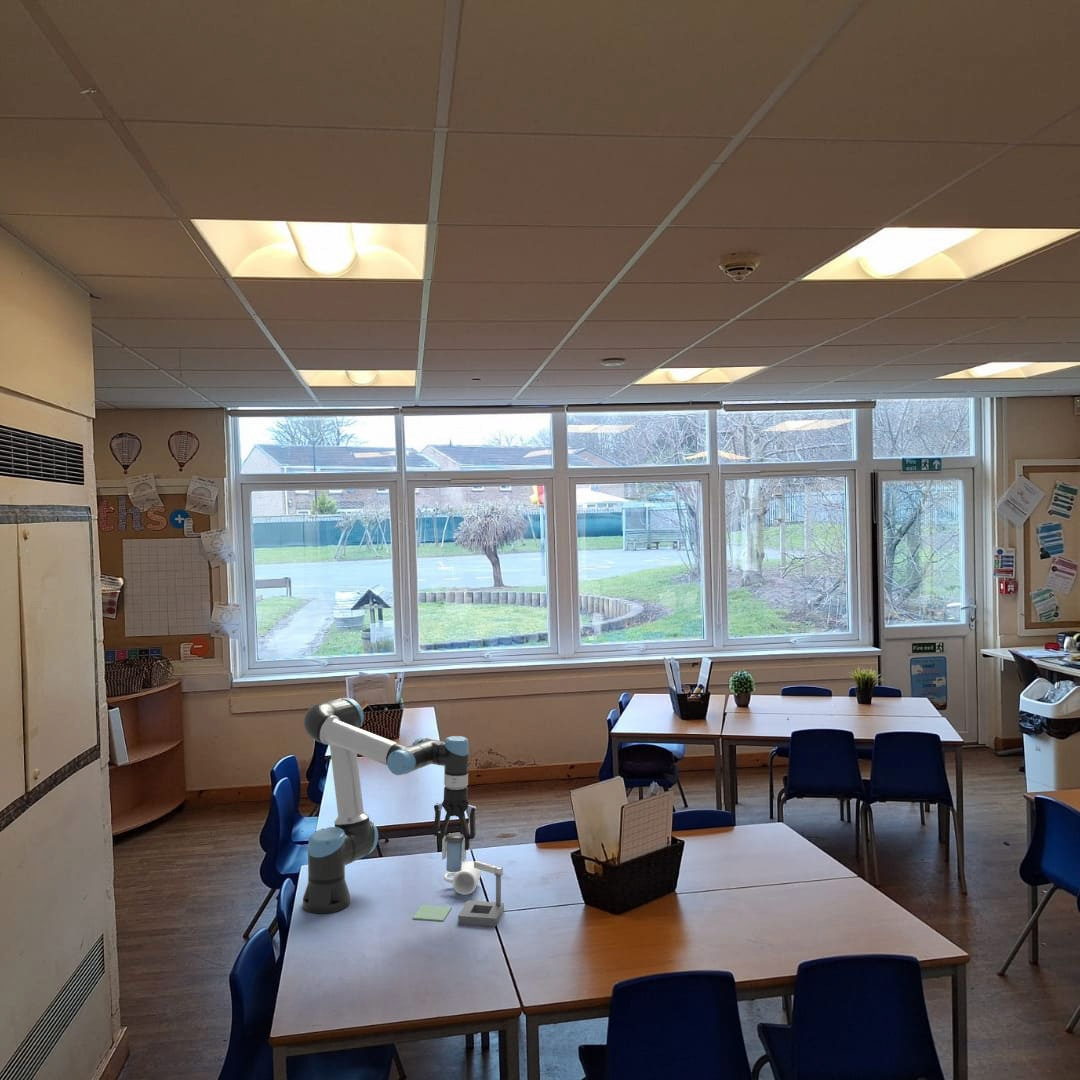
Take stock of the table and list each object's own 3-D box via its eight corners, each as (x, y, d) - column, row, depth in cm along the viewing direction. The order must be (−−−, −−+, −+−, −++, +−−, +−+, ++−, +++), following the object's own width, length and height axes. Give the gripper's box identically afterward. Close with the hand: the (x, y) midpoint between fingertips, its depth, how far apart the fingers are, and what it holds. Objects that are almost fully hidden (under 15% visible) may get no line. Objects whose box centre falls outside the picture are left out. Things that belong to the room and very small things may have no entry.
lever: (504, 873, 291) (504, 867, 291) (498, 876, 289) (499, 870, 289) (477, 865, 298) (477, 859, 298) (472, 868, 296) (472, 862, 296)
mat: (412, 918, 286) (412, 917, 286) (421, 906, 295) (421, 904, 295) (443, 921, 284) (443, 919, 284) (451, 908, 294) (451, 907, 294)
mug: (480, 884, 314) (481, 861, 314) (476, 895, 304) (476, 872, 304) (446, 882, 315) (446, 860, 315) (440, 894, 305) (440, 870, 305)
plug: (442, 871, 286) (443, 838, 286) (447, 865, 292) (448, 832, 292) (460, 873, 286) (461, 840, 285) (464, 866, 291) (465, 834, 291)
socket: (458, 923, 282) (458, 885, 282) (467, 908, 294) (467, 871, 294) (496, 926, 280) (496, 887, 280) (503, 910, 292) (504, 873, 292)
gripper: (424, 787, 286) (422, 860, 286) (482, 791, 283) (480, 865, 284) (430, 780, 293) (428, 852, 294) (487, 785, 291) (485, 857, 291)
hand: (454, 858), depth 289 cm, fingers closed on plug, 6 cm apart
